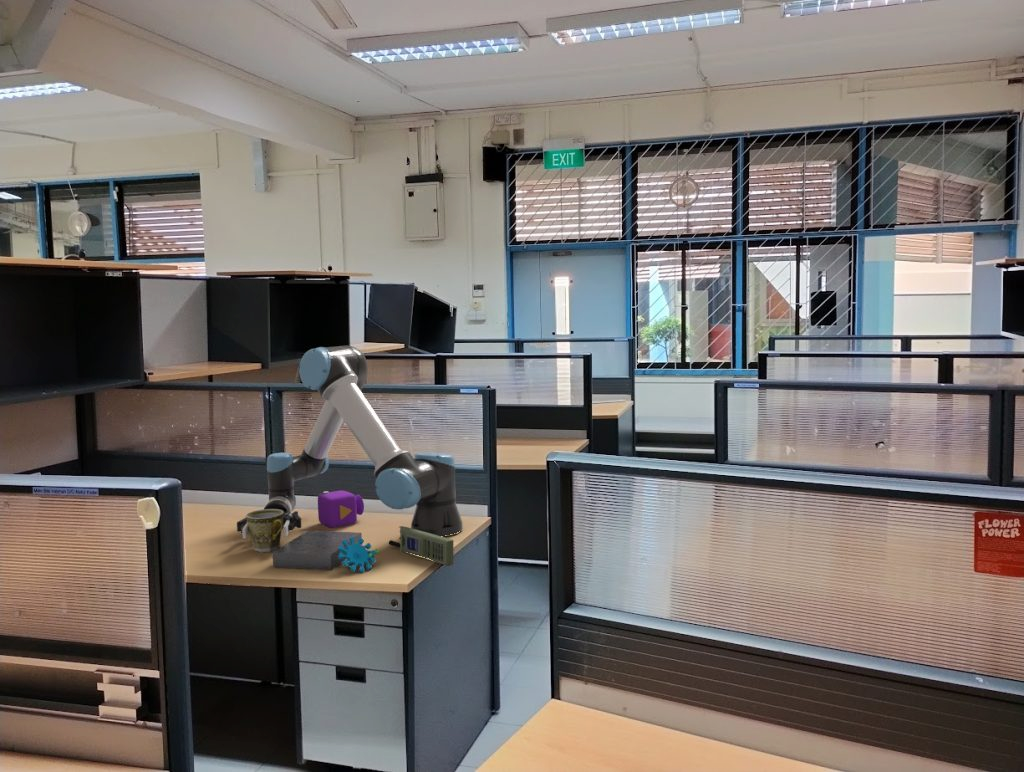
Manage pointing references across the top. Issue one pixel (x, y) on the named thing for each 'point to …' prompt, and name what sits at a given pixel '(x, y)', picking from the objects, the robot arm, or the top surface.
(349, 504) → the toy camera
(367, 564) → the gear
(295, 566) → the stand
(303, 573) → the top surface
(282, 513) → the ceramic cup
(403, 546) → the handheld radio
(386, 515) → the top surface
